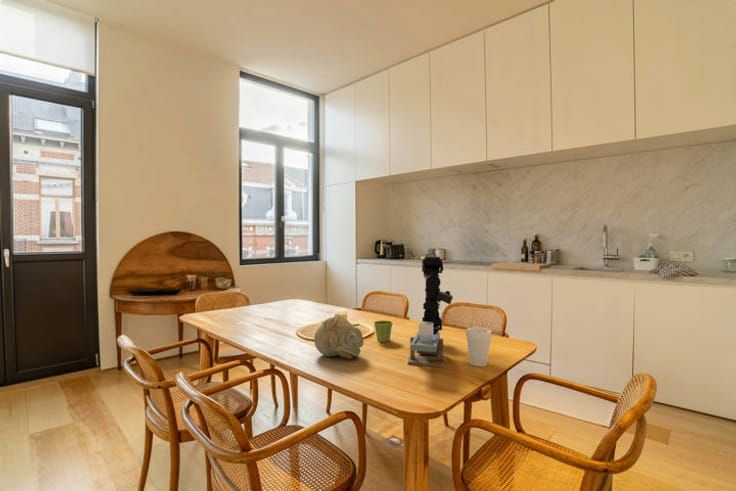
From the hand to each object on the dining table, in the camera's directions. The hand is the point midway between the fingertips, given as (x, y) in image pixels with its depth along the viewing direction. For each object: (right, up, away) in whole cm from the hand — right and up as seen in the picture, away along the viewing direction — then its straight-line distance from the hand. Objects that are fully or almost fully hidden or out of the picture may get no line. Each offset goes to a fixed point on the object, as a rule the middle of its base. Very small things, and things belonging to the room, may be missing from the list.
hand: (432, 322), depth 157 cm
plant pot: (-20, -13, +19) cm, 30 cm away
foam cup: (+16, -14, -14) cm, 25 cm away
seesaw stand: (-4, -13, -12) cm, 18 cm away
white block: (-5, -4, -15) cm, 16 cm away
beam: (-5, -11, -14) cm, 19 cm away
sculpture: (-40, -14, -4) cm, 42 cm away
